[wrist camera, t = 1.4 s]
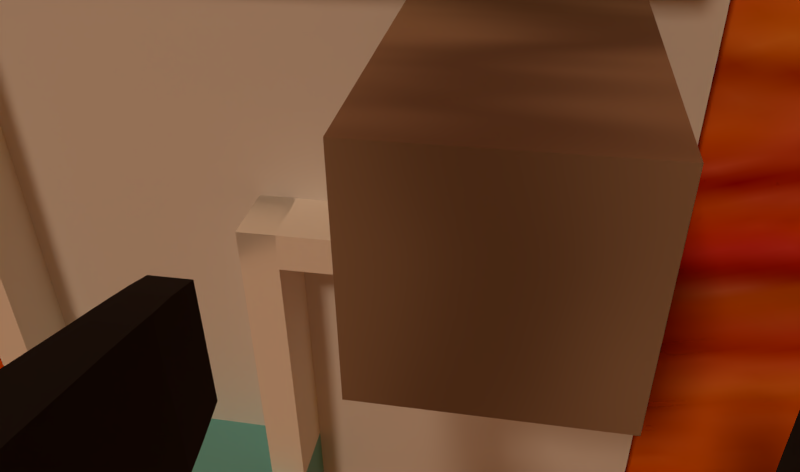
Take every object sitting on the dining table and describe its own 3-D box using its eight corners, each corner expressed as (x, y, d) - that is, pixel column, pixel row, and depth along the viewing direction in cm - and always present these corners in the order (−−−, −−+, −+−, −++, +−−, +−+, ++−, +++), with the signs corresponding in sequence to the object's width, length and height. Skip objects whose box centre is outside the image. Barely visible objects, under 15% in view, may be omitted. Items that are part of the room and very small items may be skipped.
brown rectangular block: (642, -19, 15) (704, 163, 9) (611, 177, 18) (640, 436, 11) (421, -26, 16) (323, 137, 9) (421, 164, 18) (342, 400, 12)
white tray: (775, -241, 13) (836, -235, 10) (612, 504, 25) (619, 609, 22) (-176, -230, 16) (-339, -225, 13) (63, 429, 28) (3, 512, 25)
